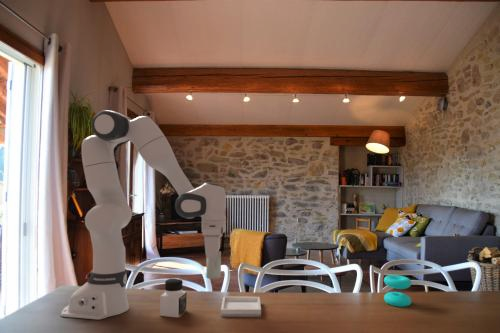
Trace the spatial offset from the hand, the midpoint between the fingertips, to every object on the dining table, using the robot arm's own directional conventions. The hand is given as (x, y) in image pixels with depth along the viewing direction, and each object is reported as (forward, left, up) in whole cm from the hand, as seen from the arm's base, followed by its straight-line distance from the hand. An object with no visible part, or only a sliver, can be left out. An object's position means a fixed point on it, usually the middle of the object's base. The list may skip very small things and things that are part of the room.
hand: (213, 265), depth 136 cm
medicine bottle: (-14, -2, -17) cm, 22 cm away
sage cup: (0, 0, -4) cm, 4 cm away
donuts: (+71, +10, -17) cm, 74 cm away
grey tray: (+10, +2, -17) cm, 19 cm away
